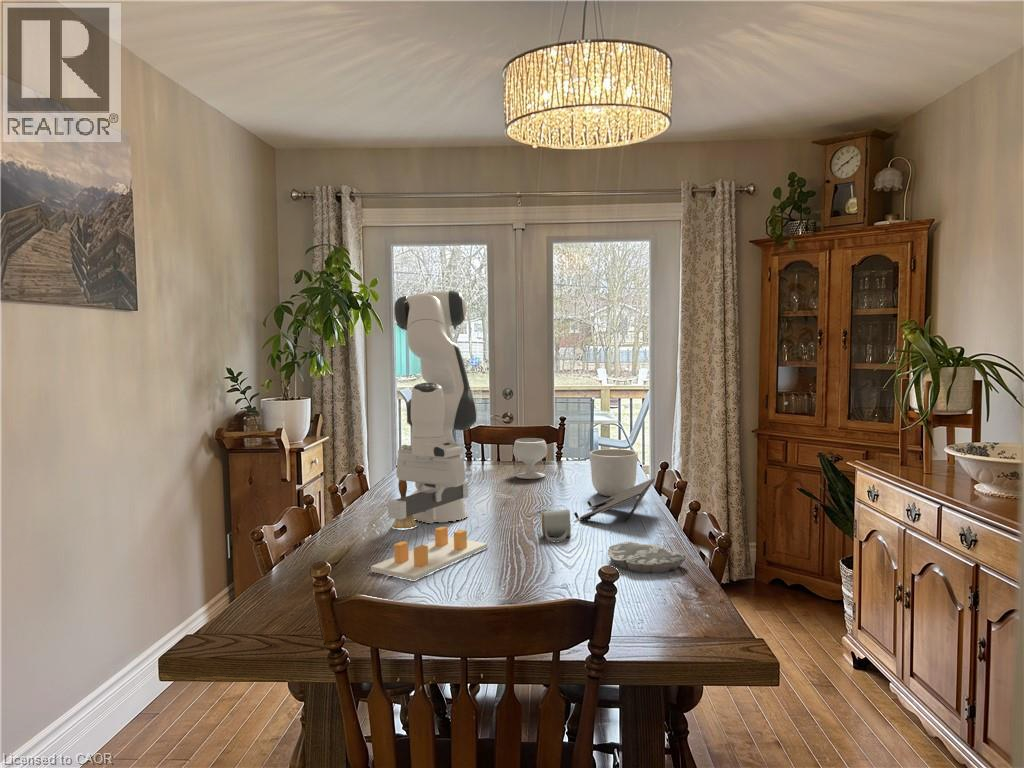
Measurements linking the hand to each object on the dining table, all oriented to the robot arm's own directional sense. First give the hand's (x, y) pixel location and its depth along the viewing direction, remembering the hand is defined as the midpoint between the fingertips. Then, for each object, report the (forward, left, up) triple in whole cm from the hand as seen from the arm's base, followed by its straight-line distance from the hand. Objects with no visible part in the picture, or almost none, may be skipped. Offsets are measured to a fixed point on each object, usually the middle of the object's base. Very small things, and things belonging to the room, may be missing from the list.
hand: (430, 500), depth 183 cm
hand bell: (-28, +21, -16) cm, 38 cm away
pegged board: (0, 0, -16) cm, 16 cm away
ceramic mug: (+18, +34, -16) cm, 42 cm away
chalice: (-34, +104, -16) cm, 111 cm away
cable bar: (0, 0, -2) cm, 2 cm away
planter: (+9, +91, -16) cm, 93 cm away
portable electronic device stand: (+22, +63, -16) cm, 69 cm away
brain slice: (+48, +24, -16) cm, 56 cm away
